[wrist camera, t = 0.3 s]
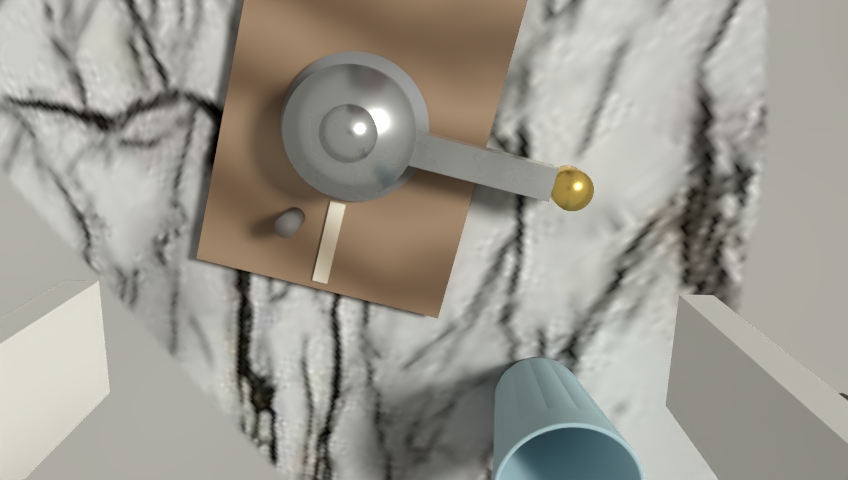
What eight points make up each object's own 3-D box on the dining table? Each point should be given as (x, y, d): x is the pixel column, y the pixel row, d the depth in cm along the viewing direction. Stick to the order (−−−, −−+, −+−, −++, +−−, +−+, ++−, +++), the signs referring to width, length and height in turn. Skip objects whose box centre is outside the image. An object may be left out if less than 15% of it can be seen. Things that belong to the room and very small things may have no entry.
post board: (266, -88, 37) (247, -107, 33) (529, -15, 37) (540, -25, 34) (202, 253, 41) (179, 272, 37) (437, 311, 42) (438, 335, 38)
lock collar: (306, 49, 36) (295, 47, 33) (601, 128, 37) (617, 133, 34) (280, 173, 38) (267, 182, 35) (564, 245, 39) (575, 261, 36)
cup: (481, 453, 45) (498, 564, 35) (472, 347, 43) (486, 431, 33) (595, 443, 44) (646, 551, 34) (591, 335, 43) (643, 416, 33)
